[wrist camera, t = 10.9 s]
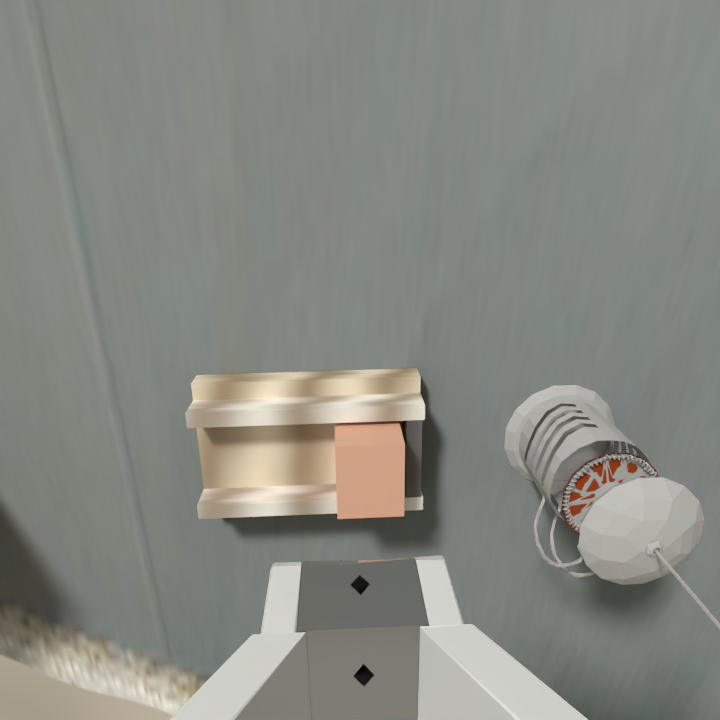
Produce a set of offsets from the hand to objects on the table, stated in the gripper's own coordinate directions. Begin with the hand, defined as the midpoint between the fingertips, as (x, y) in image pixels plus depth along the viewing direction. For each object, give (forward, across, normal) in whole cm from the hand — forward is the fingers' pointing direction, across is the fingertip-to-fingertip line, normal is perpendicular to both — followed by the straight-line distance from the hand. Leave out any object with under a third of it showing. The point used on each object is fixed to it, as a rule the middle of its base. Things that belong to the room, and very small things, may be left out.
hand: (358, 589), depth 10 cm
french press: (+35, -18, +16) cm, 43 cm away
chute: (+35, +3, +14) cm, 38 cm away
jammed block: (+33, -2, +15) cm, 36 cm away
